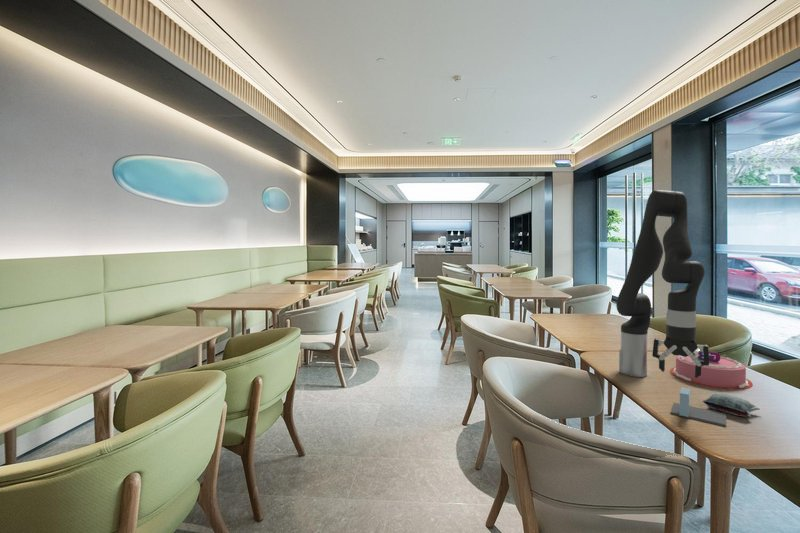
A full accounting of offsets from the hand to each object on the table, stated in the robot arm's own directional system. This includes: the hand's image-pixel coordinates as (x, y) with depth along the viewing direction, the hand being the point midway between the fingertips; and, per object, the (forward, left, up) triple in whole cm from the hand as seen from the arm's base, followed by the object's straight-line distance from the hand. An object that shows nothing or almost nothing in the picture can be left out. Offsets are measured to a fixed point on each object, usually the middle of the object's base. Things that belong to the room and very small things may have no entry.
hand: (679, 373), depth 116 cm
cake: (+6, +43, -12) cm, 45 cm away
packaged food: (+12, +10, -12) cm, 20 cm away
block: (+2, 0, -8) cm, 8 cm away
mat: (+5, 0, -12) cm, 13 cm away
